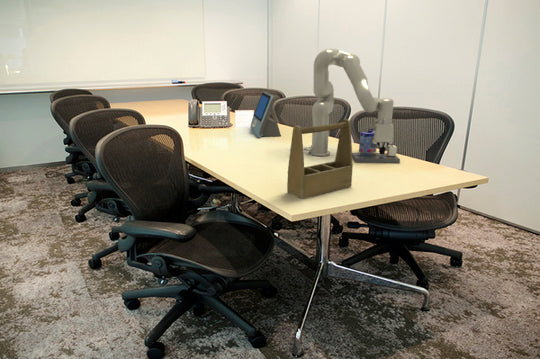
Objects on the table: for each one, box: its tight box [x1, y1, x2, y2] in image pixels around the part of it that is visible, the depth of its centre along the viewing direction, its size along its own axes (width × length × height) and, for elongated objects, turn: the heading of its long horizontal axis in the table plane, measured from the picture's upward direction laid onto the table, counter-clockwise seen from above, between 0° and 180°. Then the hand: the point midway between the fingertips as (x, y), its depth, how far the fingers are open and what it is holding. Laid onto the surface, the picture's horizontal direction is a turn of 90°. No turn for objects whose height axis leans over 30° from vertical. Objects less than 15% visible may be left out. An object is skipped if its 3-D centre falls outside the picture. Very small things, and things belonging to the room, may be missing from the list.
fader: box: [386, 144, 398, 156], centre depth 232 cm, size 4×4×5 cm
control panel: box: [352, 152, 401, 164], centre depth 233 cm, size 24×14×3 cm, turn 89°
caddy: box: [286, 118, 354, 200], centre depth 178 cm, size 29×11×30 cm, turn 126°
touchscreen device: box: [250, 91, 282, 139], centre depth 303 cm, size 35×20×30 cm, turn 11°
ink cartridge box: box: [358, 128, 378, 153], centre depth 251 cm, size 10×6×14 cm, turn 117°
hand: (381, 153), depth 232 cm, fingers closed
